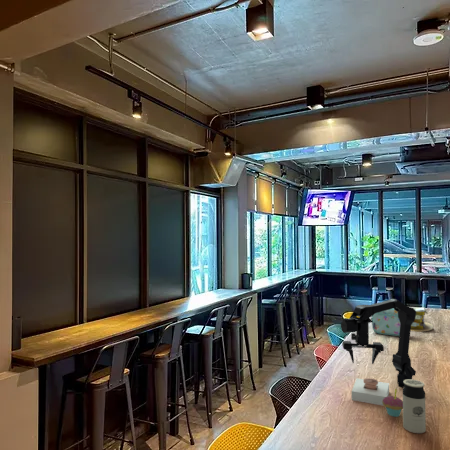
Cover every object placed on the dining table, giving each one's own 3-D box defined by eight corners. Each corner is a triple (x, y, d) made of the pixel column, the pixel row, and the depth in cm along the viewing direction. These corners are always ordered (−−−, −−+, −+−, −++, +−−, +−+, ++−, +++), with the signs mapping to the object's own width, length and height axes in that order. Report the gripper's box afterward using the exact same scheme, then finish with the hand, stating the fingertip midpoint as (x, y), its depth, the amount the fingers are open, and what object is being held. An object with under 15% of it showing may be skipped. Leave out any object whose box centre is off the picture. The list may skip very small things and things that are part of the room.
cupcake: (409, 417, 163) (408, 388, 163) (391, 420, 160) (391, 390, 161) (394, 408, 171) (394, 380, 171) (378, 411, 168) (377, 383, 169)
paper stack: (427, 333, 300) (427, 311, 301) (394, 328, 317) (394, 307, 318) (436, 327, 318) (436, 307, 319) (405, 323, 335) (404, 303, 336)
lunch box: (369, 333, 301) (369, 305, 302) (373, 330, 310) (372, 303, 310) (407, 338, 286) (407, 309, 287) (409, 335, 295) (409, 306, 295)
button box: (389, 391, 189) (389, 383, 189) (386, 406, 173) (386, 397, 173) (356, 386, 196) (356, 378, 196) (351, 399, 180) (351, 391, 180)
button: (378, 388, 186) (378, 379, 186) (377, 392, 180) (377, 384, 180) (364, 385, 189) (364, 377, 189) (362, 390, 183) (362, 381, 183)
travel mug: (401, 422, 158) (401, 377, 158) (423, 425, 156) (422, 380, 156) (404, 432, 150) (404, 385, 151) (427, 435, 148) (427, 387, 149)
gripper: (378, 328, 199) (378, 359, 199) (340, 327, 202) (341, 357, 202) (383, 333, 188) (384, 366, 188) (343, 332, 191) (344, 364, 191)
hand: (362, 363), depth 192 cm, fingers open, 9 cm apart
